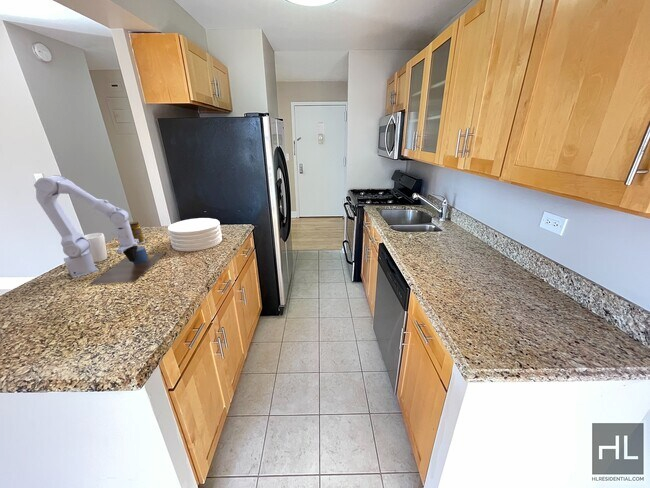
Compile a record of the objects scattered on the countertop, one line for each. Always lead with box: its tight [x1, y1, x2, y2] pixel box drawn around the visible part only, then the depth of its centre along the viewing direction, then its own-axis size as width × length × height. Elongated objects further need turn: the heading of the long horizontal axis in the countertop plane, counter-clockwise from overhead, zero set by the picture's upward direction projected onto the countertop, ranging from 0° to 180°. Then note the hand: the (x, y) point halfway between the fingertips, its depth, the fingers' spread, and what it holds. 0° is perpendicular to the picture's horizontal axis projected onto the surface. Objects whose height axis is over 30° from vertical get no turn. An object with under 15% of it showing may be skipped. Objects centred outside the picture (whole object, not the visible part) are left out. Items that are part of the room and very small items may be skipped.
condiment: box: [129, 221, 146, 245], centre depth 157 cm, size 7×8×12 cm
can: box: [133, 246, 148, 263], centre depth 132 cm, size 7×7×6 cm
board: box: [89, 252, 167, 285], centre depth 127 cm, size 32×18×1 cm, turn 8°
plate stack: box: [167, 217, 223, 252], centre depth 156 cm, size 28×28×12 cm
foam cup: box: [83, 232, 108, 263], centre depth 133 cm, size 10×9×13 cm
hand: (133, 261), depth 128 cm, fingers closed
